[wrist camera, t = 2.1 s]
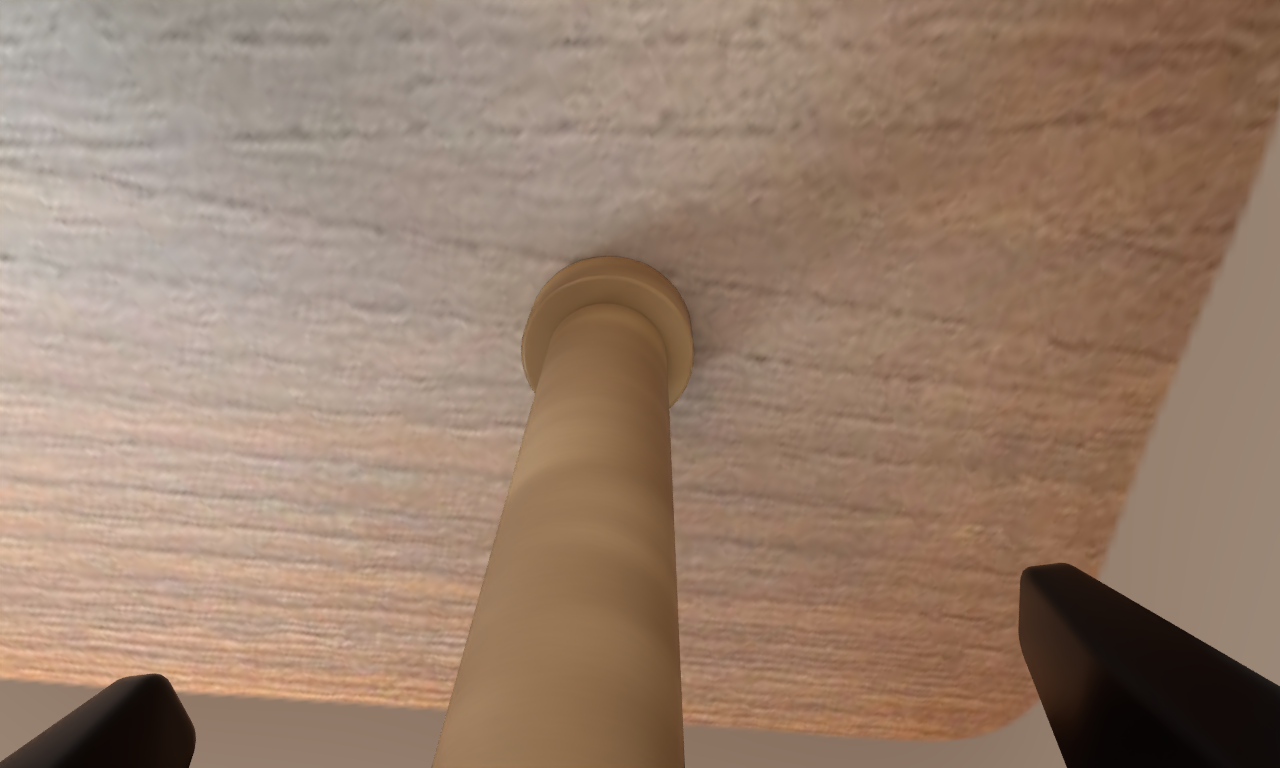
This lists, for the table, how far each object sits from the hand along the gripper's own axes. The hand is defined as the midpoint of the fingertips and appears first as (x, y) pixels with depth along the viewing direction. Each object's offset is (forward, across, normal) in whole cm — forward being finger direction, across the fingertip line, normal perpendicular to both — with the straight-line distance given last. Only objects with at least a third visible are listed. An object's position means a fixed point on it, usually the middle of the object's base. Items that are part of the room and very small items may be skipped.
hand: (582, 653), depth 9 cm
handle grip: (+9, 0, 0) cm, 9 cm away
